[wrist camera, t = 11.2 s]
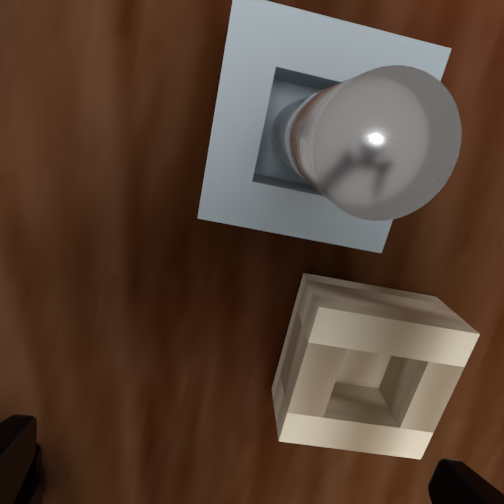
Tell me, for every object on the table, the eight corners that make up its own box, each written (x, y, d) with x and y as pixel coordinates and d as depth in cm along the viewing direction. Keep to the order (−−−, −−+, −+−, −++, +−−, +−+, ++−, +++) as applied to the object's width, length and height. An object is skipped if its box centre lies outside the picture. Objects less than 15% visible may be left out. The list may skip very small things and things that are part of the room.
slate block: (205, 199, 18) (197, 218, 15) (234, 23, 16) (234, -8, 12) (353, 228, 19) (381, 253, 16) (403, 65, 17) (451, 48, 13)
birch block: (271, 388, 23) (278, 441, 19) (303, 272, 20) (318, 306, 16) (391, 405, 23) (420, 459, 20) (436, 296, 21) (480, 334, 17)
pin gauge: (264, 161, 17) (296, 206, 8) (279, 93, 16) (335, 48, 7) (325, 173, 17) (429, 232, 8) (343, 108, 16) (485, 85, 7)
